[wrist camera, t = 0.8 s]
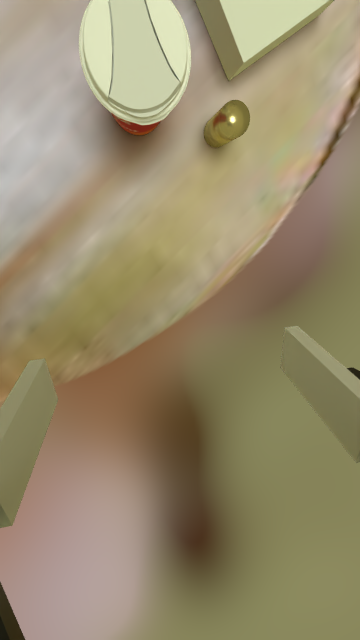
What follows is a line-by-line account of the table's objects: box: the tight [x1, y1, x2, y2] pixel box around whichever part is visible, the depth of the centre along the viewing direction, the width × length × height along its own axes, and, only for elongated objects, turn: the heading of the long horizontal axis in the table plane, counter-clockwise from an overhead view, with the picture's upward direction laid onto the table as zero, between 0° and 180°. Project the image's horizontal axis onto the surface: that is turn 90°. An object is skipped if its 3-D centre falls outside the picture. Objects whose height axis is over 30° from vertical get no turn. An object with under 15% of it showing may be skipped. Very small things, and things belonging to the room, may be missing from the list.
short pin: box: [204, 100, 250, 148], centre depth 30 cm, size 3×3×7 cm
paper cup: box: [79, 0, 191, 135], centre depth 25 cm, size 8×8×14 cm
